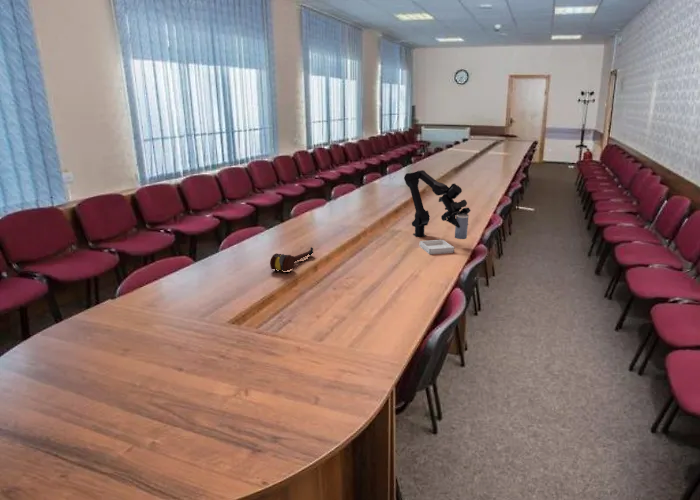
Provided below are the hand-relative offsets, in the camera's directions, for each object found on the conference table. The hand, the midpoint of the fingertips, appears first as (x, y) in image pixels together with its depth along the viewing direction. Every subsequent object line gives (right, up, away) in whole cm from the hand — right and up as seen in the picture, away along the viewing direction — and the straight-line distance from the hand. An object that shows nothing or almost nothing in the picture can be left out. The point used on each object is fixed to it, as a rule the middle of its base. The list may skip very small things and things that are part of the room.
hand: (463, 226), depth 265 cm
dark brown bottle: (-91, -21, -21) cm, 96 cm away
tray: (-15, -13, +2) cm, 20 cm away
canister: (-1, -6, +3) cm, 7 cm away
